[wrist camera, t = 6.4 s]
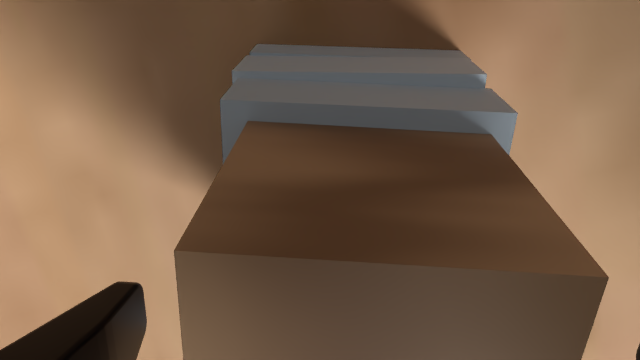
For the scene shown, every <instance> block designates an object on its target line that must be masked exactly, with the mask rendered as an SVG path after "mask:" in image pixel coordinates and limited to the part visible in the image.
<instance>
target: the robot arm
mask: <svg viewBox="0 0 640 360" xmlns="http://www.w3.org/2000/svg"><path fill="white" fill-rule="evenodd" d="M146 324H147V319H146V310H145V302H144V293H143V288H142V286H141V285H140V284H139V283H136V282H116V283H114V284H112V285H110V286H109V287H107V288H105V289H104V290H102V291H100V292H99V293H97V294H95V295H93V296H92V297H90V298H88V299H87V300H85V301H83V302H81V303H80V304H78V305H76V306H75V307H73V308H71V309H69V310H68V311H66V312H64V313H63V314H61V315H59V316H58V317H56V318H54V319H52V320H51V321H49V322H47V323H46V324H44V325H42V326H40V327H39V328H37V329H35V330H34V331H32V332H30V333H28V334H27V335H25V336H23V337H22V338H20V339H18V340H17V341H15V342H13V343H11V344H10V345H8V346H6V347H5V348H3V349H1V350H0V360H136V359H137V356H138V353H139V350H140V347H141V344H142V341H143V338H144V335H145V331H146ZM636 360H640V344H639V347H638V349H637V353H636Z"/></svg>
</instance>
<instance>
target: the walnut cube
mask: <svg viewBox="0 0 640 360" xmlns="http://www.w3.org/2000/svg"><path fill="white" fill-rule="evenodd" d="M174 257H175V268H176V280H177V291H178V303H179V314H180V326H181V338H182V349H183V360H581V358H582V355H583V352H584V350H585V347H586V344H587V341H588V338H589V335H590V332H591V329H592V326H593V323H594V320H595V317H596V314H597V311H598V308H599V305H600V302H601V299H602V296H603V293H604V290H605V287H606V284H607V281H608V278H609V277H608V276H607V275H606V273H605V272H604V271H603V270H602V268H601V267H600V266H599V265H598V264H597V262H596V261H595V260H594V259H593V257H592V256H591V255H590V254H589V253H588V251H587V250H586V249H585V248H584V247H583V245H582V244H581V243H580V242H579V240H578V239H577V238H576V237H575V236H574V234H573V233H572V232H571V231H570V229H569V228H568V227H567V226H566V225H565V223H564V222H563V221H562V220H561V218H560V217H559V216H558V215H557V214H556V212H555V211H554V210H553V209H552V208H551V206H550V205H549V204H548V203H547V201H546V200H545V199H544V198H543V197H542V195H541V194H540V193H539V192H538V190H537V189H536V188H535V187H534V186H533V184H532V183H531V182H530V181H529V179H528V178H527V177H526V176H525V175H524V173H523V172H522V171H521V170H520V168H519V167H518V166H517V165H516V164H515V162H514V161H513V160H512V159H511V158H510V156H509V155H508V154H507V153H506V151H505V150H504V149H503V148H502V147H501V145H500V144H499V143H498V142H497V140H496V139H495V138H494V137H493V136H492V134H477V133H459V132H441V131H423V130H406V129H388V128H370V127H352V126H334V125H316V124H298V123H280V122H262V121H247V123H246V125H245V127H244V128H243V130H242V132H241V134H240V135H239V137H238V139H237V141H236V142H235V144H234V146H233V148H232V150H231V151H230V153H229V155H228V157H227V158H226V160H225V162H224V164H223V165H222V167H221V169H220V171H219V172H218V174H217V176H216V178H215V179H214V181H213V183H212V185H211V186H210V188H209V190H208V192H207V194H206V195H205V197H204V199H203V201H202V202H201V204H200V206H199V208H198V209H197V211H196V213H195V215H194V216H193V218H192V220H191V222H190V223H189V225H188V227H187V229H186V230H185V232H184V234H183V236H182V237H181V239H180V241H179V243H178V245H177V246H176V248H175V250H174Z"/></svg>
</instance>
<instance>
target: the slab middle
mask: <svg viewBox="0 0 640 360" xmlns="http://www.w3.org/2000/svg"><path fill="white" fill-rule="evenodd" d="M486 77H487V74H486V73H485V72H484V71H482V70H481V69H480V68H479V67H478V66H477V65H475V64H474V63H473V62H472V61H471V60H470V59H468V58H439V57H336V56H250V55H246V56H245V57H244V58H243V59H242V61H241V62H240V63H239V64H238V65H237V66H236V67H235V68H234V69H233V70H232V83H234V82H235V81H236V80H237V79H238V78H261V79H283V80H305V81H328V82H350V83H372V84H395V85H417V86H439V87H462V88H484V89H485V84H486Z"/></svg>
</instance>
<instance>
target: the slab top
mask: <svg viewBox="0 0 640 360" xmlns="http://www.w3.org/2000/svg"><path fill="white" fill-rule="evenodd" d="M220 111H221V132H222V153H223V164H224V162H225V160H226V158H227V157H228V155H229V153H230V151H231V150H232V148H233V146H234V144H235V142H236V141H237V139H238V137H239V135H240V134H241V132H242V130H243V128H244V127H245V125H246V123H247V121H262V122H280V123H298V124H316V125H334V126H352V127H370V128H388V129H406V130H423V131H441V132H459V133H477V134H492V136H493V137H494V138H495V139H496V140H497V142H498V143H499V144H500V145H501V147H502V148H503V149H504V150H505V151H506V153H507V154H508V155H509V153H510V148H511V143H512V138H513V134H514V129H515V124H516V119H517V114H518V113H517V112H516V111H515V110H514V109H513V108H511V107H510V106H509V105H508V104H507V103H506V102H505V101H504V100H503V99H502V98H501V97H499V96H498V95H497V94H496V93H495V92H494V91H493V90H492V89H487V88H485V89H484V88H462V87H439V86H417V85H395V84H372V83H350V82H328V81H305V80H283V79H261V78H238V79H237V80H236V81H235V82H234V83H233V85H232V86H231V87H230V88H229V89H228V91H227V92H226V93H225V94H224V95H223V97H222V98H221V99H220Z"/></svg>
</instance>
